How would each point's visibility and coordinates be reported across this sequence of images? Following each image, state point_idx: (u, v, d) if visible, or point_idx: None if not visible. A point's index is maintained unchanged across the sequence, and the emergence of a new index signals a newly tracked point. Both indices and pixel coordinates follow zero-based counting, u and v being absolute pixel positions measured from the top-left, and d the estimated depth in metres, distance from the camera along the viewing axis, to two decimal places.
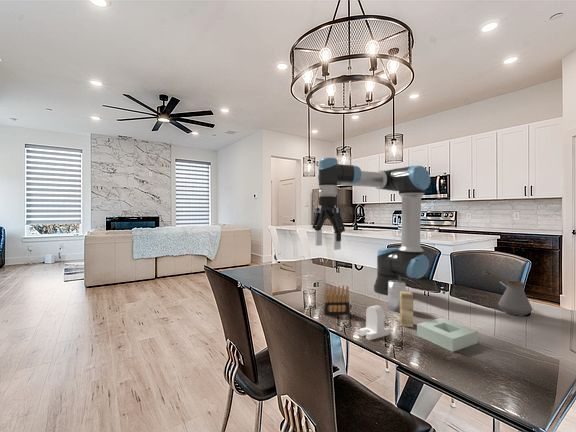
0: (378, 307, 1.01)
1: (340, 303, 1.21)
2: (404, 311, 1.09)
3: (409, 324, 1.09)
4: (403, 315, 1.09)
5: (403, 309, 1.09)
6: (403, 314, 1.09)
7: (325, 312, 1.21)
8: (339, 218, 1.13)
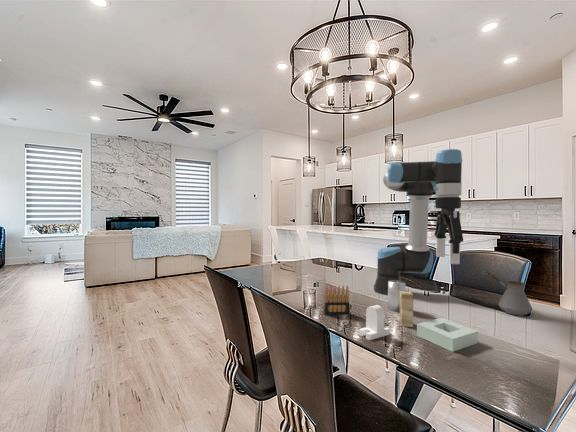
0: (378, 307, 1.01)
1: (340, 303, 1.21)
2: (404, 311, 1.09)
3: (409, 324, 1.09)
4: (403, 315, 1.09)
5: (403, 309, 1.09)
6: (403, 314, 1.09)
7: (325, 312, 1.21)
8: (456, 224, 0.90)
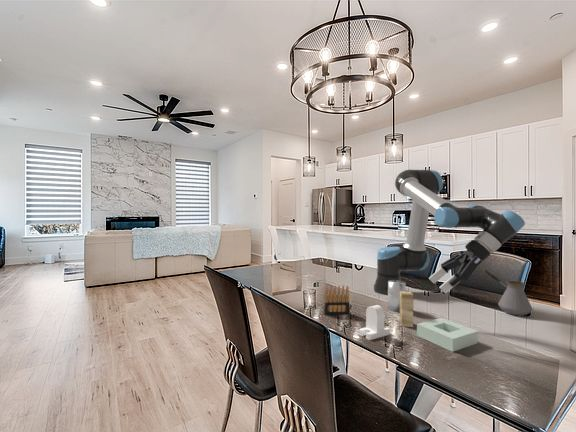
0: (378, 307, 1.01)
1: (340, 303, 1.21)
2: (404, 311, 1.09)
3: (409, 324, 1.09)
4: (403, 315, 1.09)
5: (403, 309, 1.09)
6: (403, 314, 1.09)
7: (325, 312, 1.21)
8: (471, 267, 0.99)
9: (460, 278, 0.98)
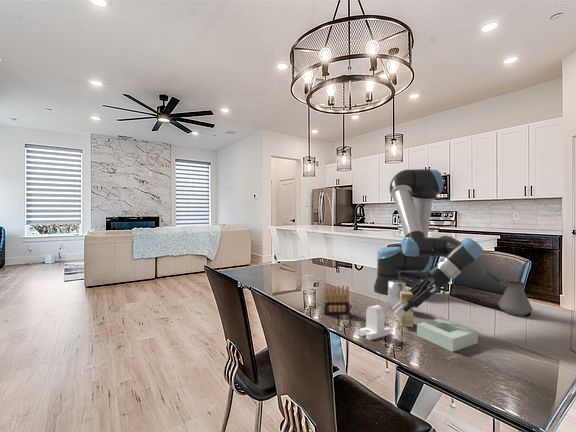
0: (378, 307, 1.01)
1: (340, 303, 1.21)
2: None
3: (409, 324, 1.09)
4: (403, 315, 1.09)
5: None
6: None
7: (325, 312, 1.21)
8: (424, 296, 1.04)
9: (412, 305, 1.06)
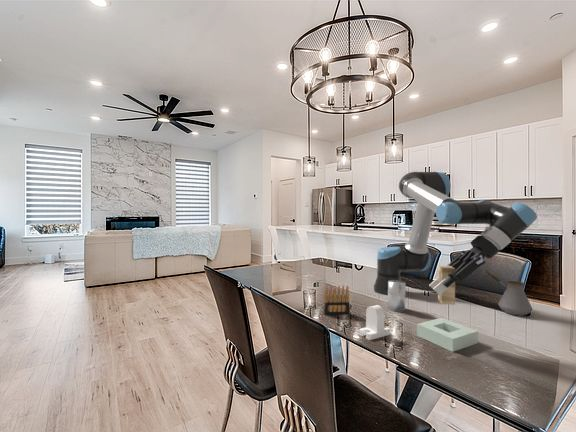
0: (378, 307, 1.01)
1: (340, 303, 1.21)
2: None
3: (450, 301, 0.96)
4: None
5: None
6: None
7: (325, 312, 1.21)
8: (470, 269, 0.91)
9: (455, 279, 0.93)
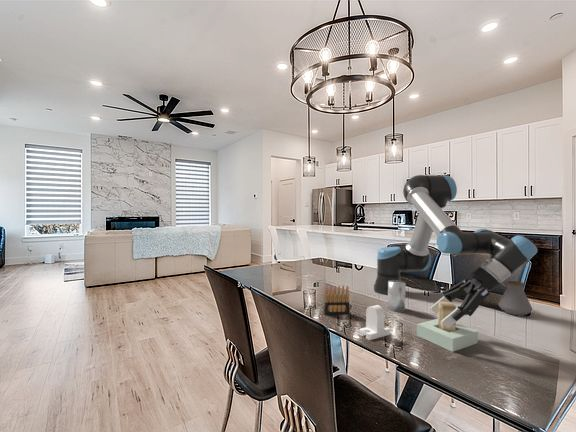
0: (378, 307, 1.01)
1: (340, 303, 1.21)
2: None
3: None
4: (444, 329, 0.97)
5: None
6: (444, 328, 0.97)
7: (325, 312, 1.21)
8: (477, 300, 0.89)
9: (464, 312, 0.89)
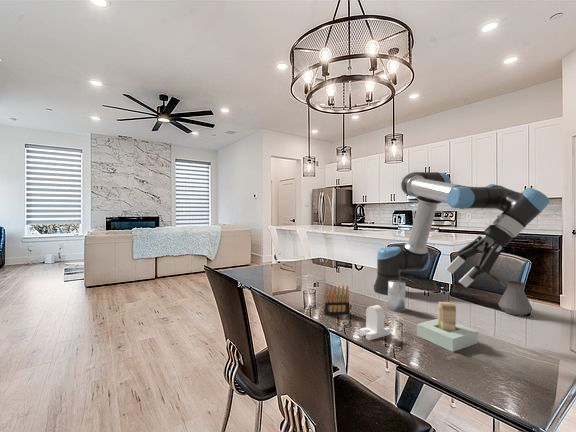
0: (378, 307, 1.01)
1: (340, 303, 1.21)
2: (445, 324, 0.96)
3: None
4: (444, 329, 0.97)
5: (444, 322, 0.97)
6: (444, 328, 0.97)
7: (325, 312, 1.21)
8: (493, 257, 0.90)
9: (481, 270, 0.90)
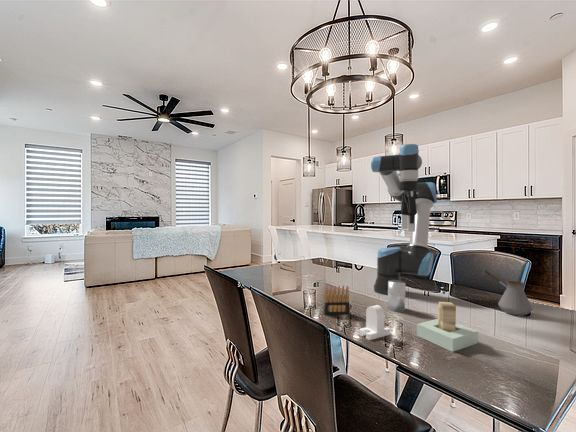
0: (378, 307, 1.01)
1: (340, 303, 1.21)
2: (445, 324, 0.96)
3: None
4: (444, 329, 0.97)
5: (444, 322, 0.97)
6: (444, 328, 0.97)
7: (325, 312, 1.21)
8: (412, 201, 1.17)
9: (412, 214, 1.17)
